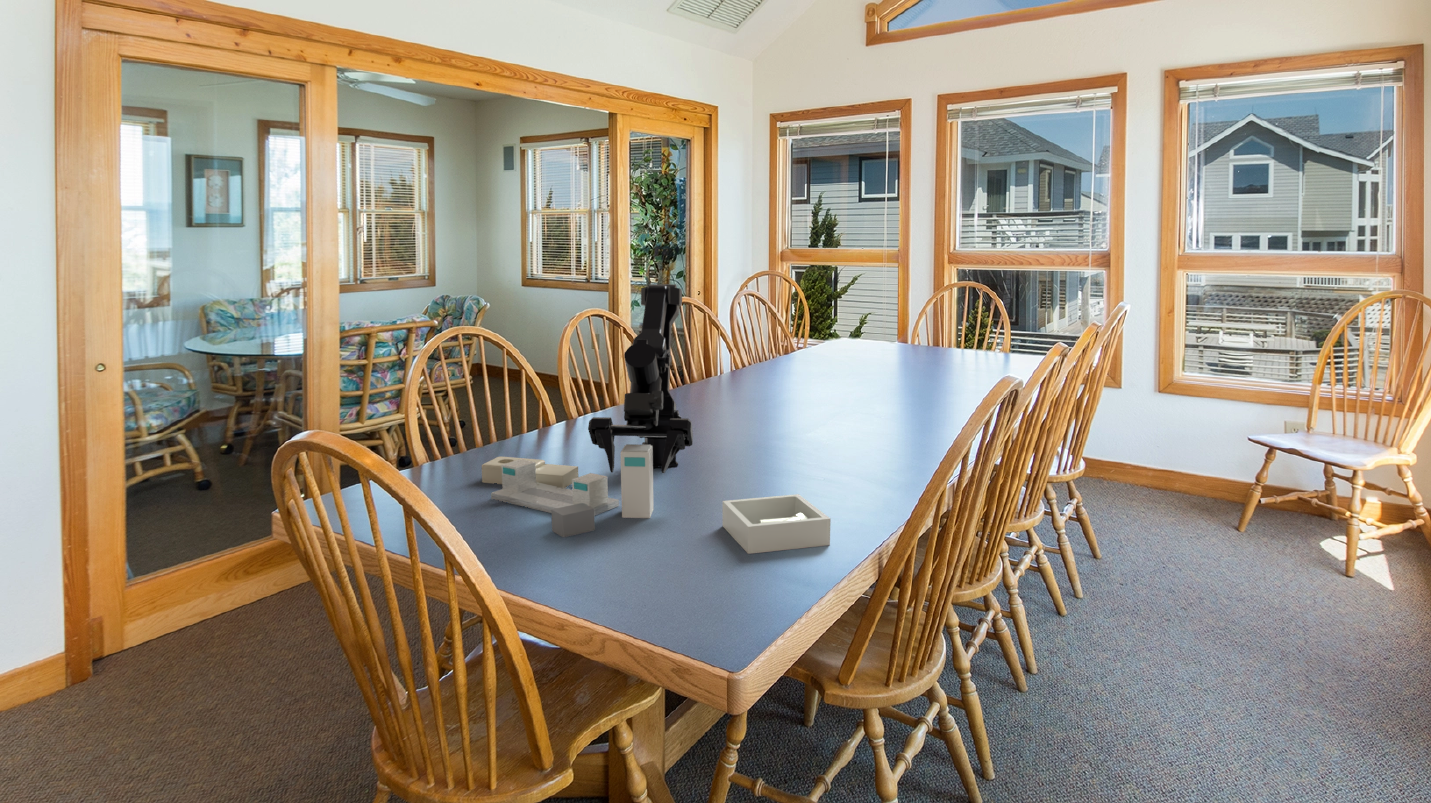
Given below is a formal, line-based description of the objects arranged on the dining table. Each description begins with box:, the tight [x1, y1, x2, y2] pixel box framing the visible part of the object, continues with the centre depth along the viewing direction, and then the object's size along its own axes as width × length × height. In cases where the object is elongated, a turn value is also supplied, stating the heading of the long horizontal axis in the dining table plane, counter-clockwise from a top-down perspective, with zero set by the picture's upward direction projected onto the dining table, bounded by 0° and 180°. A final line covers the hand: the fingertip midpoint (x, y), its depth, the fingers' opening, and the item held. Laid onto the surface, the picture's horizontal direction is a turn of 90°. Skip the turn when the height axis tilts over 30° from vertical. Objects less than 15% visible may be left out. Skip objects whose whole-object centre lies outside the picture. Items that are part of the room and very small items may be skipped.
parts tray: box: [722, 493, 832, 555], centre depth 153 cm, size 14×14×4 cm
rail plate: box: [490, 459, 620, 517], centre depth 170 cm, size 10×23×6 cm, turn 56°
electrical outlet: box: [481, 456, 579, 489], centre depth 185 cm, size 7×4×18 cm
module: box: [620, 443, 654, 519], centre depth 163 cm, size 5×5×12 cm
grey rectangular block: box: [551, 503, 596, 538], centre depth 155 cm, size 6×4×4 cm, turn 127°
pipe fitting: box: [759, 513, 808, 523], centre depth 152 cm, size 8×4×7 cm
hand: (637, 471), depth 163 cm, fingers open, 9 cm apart
